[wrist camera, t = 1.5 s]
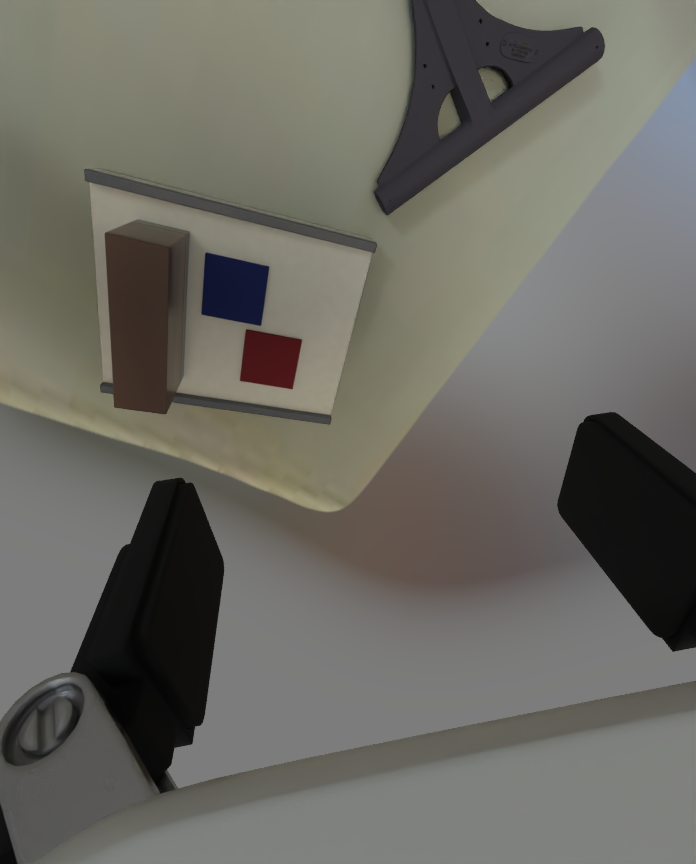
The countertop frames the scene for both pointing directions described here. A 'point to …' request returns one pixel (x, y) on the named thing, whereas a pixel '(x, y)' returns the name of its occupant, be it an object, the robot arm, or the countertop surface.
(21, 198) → the countertop surface
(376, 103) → the countertop surface
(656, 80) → the countertop surface
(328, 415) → the memo board
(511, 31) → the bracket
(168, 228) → the eraser
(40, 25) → the countertop surface
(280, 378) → the smudge maroon
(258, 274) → the smudge navy
